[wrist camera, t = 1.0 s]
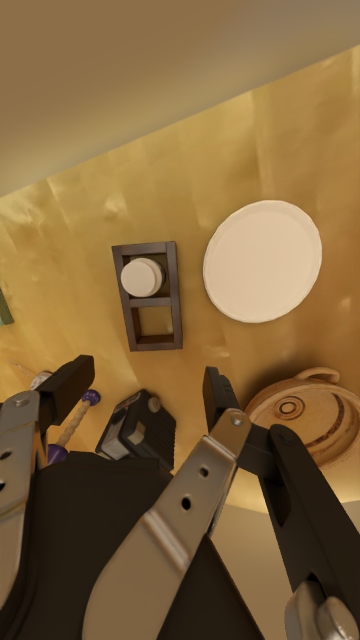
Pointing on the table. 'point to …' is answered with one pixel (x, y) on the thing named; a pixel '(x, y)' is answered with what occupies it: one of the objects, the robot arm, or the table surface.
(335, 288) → the table surface
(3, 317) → the tray
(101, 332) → the table surface
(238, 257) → the plate
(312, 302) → the table surface
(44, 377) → the game controller
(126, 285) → the pill bottle
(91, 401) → the toy lamp
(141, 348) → the rack
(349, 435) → the ceramic bowl
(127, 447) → the camera
